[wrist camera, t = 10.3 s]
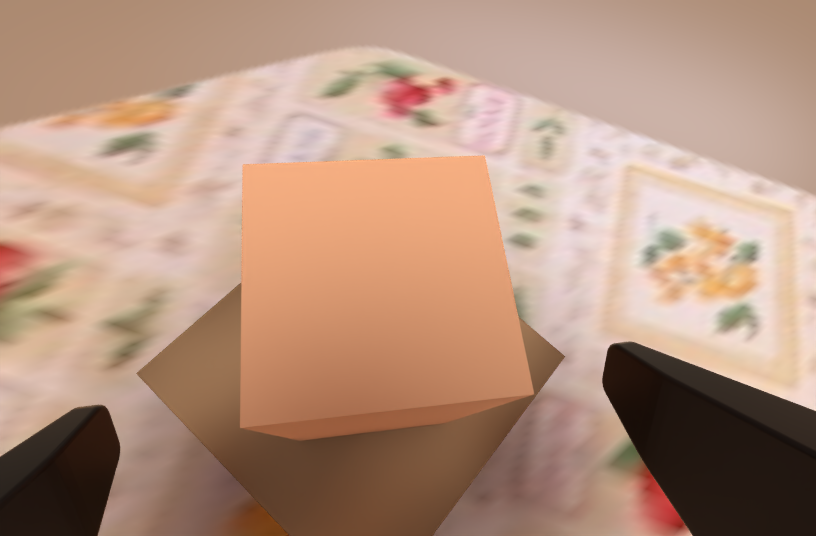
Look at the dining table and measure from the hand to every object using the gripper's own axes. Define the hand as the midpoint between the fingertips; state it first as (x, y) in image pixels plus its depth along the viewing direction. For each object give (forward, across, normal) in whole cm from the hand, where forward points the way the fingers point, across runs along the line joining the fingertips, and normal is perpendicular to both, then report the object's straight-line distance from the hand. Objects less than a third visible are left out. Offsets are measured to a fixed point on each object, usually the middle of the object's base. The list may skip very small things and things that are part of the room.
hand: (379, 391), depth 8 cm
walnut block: (+10, 0, +8) cm, 13 cm away
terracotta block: (+8, 0, +4) cm, 9 cm away
